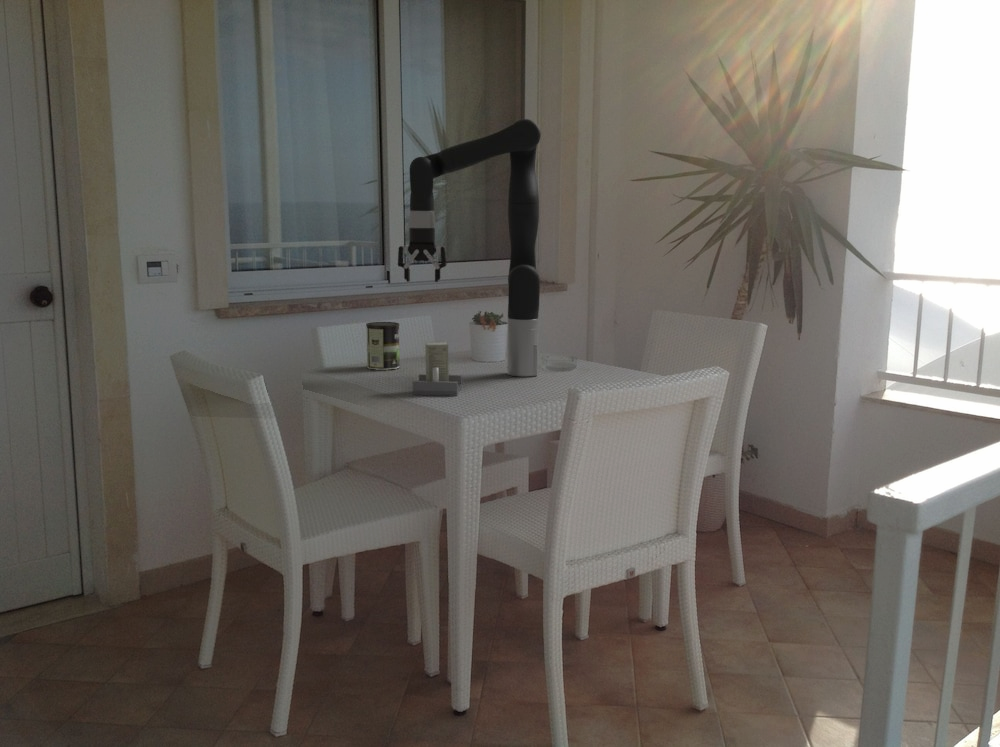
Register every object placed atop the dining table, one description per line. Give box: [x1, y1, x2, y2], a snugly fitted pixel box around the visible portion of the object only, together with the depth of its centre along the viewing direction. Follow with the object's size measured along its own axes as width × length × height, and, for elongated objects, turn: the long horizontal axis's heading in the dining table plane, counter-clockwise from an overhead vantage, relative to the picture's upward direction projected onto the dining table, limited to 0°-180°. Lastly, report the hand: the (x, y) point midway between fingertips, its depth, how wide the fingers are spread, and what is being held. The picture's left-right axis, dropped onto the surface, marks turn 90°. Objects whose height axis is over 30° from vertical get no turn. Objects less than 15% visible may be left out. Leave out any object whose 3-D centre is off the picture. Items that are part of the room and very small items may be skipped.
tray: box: [412, 368, 463, 397], centre depth 260 cm, size 12×12×7 cm
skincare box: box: [424, 341, 450, 382], centre depth 259 cm, size 6×4×12 cm
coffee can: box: [365, 321, 400, 371], centre depth 295 cm, size 10×10×14 cm
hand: (422, 281), depth 281 cm, fingers open, 8 cm apart
